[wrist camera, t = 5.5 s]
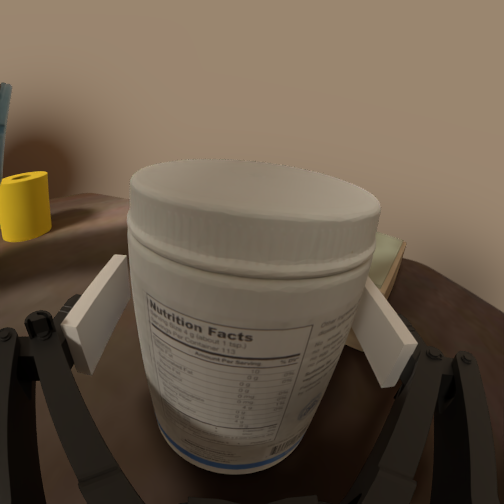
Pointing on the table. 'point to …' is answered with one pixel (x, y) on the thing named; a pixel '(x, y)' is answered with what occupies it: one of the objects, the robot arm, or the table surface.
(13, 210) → the yellow hollow cylinder
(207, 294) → the supplement tub
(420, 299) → the table surface
